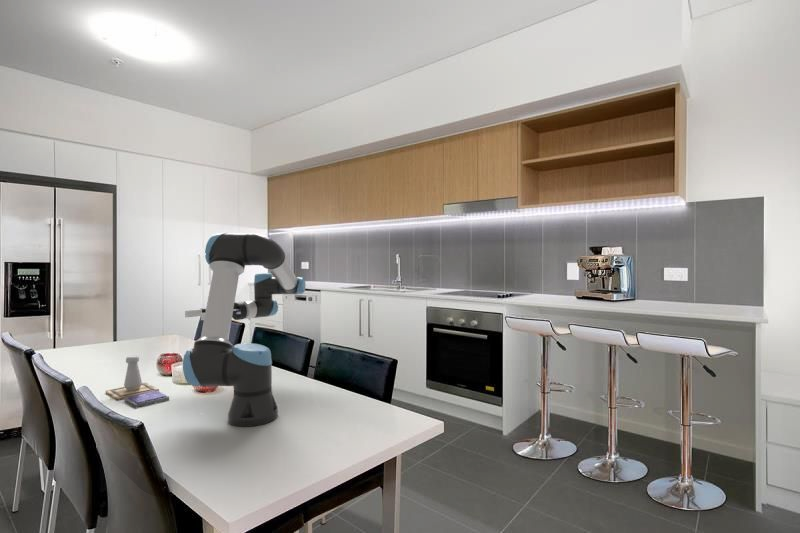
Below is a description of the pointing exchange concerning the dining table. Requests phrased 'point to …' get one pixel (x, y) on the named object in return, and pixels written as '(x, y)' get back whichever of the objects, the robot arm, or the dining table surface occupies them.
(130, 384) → the salt shaker
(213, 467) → the dining table surface
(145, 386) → the marked board
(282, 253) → the robot arm
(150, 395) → the ink pad
